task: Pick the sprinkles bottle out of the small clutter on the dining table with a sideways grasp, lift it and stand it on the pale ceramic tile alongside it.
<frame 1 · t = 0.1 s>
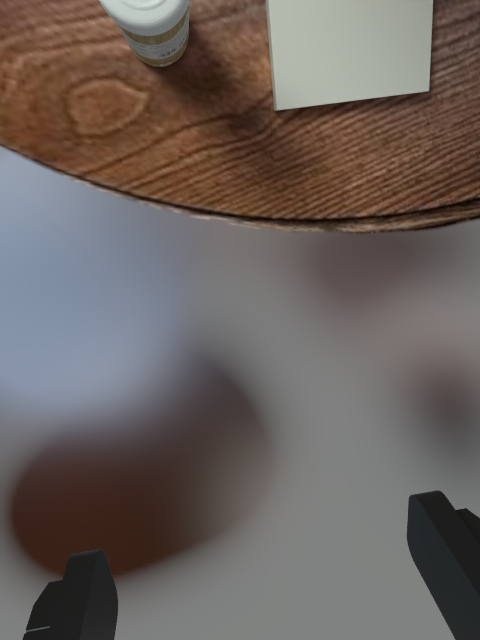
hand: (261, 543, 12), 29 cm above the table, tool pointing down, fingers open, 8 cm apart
sprinkles bottle: (157, 33, 32), on the table
ceramic tile: (347, 10, 32), on the table
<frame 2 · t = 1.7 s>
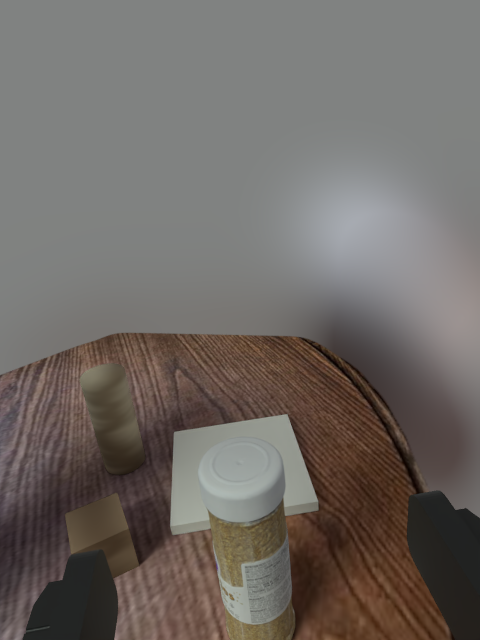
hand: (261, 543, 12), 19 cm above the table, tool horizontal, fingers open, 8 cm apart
sprinkles bottle: (261, 625, 29), on the table
walnut block: (107, 558, 34), on the table
beech dowel: (125, 460, 44), on the table
ceramic tile: (238, 470, 41), on the table
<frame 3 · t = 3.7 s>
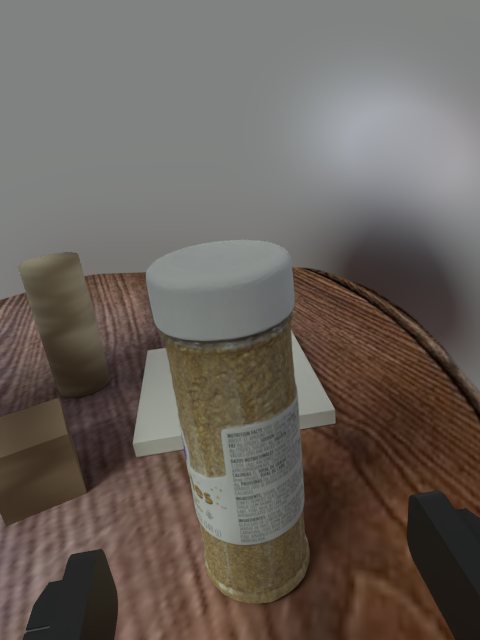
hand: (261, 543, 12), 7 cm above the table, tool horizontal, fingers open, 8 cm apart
sprinkles bottle: (258, 561, 19), on the table
walnut block: (45, 486, 25), on the table
beech dowel: (84, 383, 35), on the table
ceramic tile: (227, 387, 32), on the table
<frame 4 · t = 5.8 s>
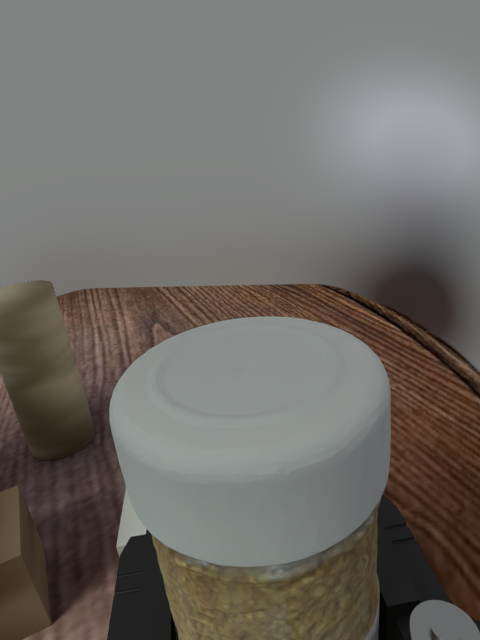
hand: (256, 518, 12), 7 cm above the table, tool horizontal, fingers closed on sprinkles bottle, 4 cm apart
beech dowel: (63, 438, 28), on the table
ceramic tile: (240, 450, 25), on the table
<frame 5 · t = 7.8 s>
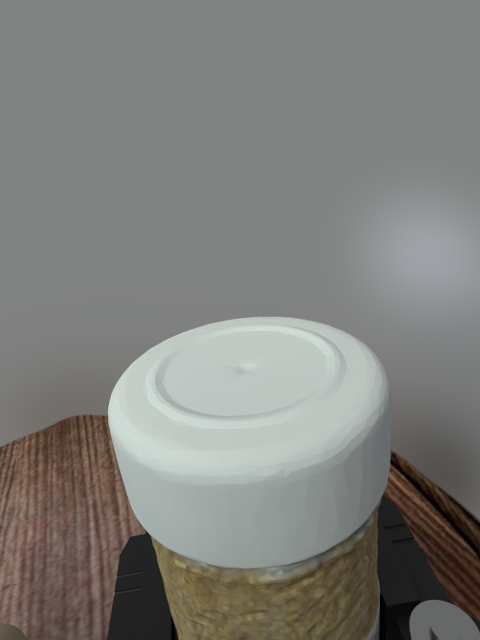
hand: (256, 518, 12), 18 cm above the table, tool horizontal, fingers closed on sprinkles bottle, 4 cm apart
when the fingers open (9 cm above the table, at t = 9.9 s): sprinkles bottle drops 1 cm, resting on ceramic tile.
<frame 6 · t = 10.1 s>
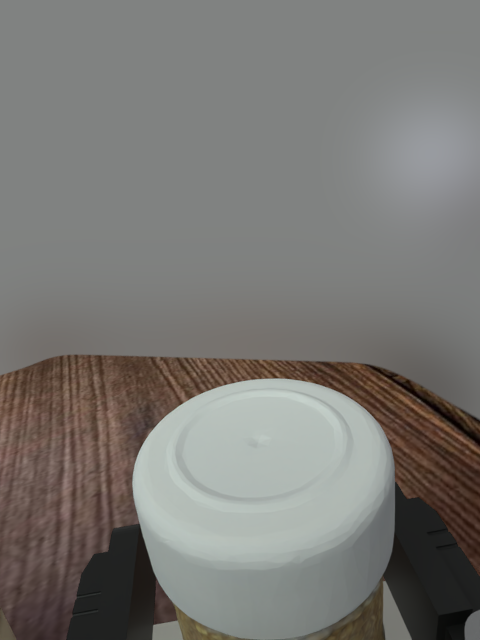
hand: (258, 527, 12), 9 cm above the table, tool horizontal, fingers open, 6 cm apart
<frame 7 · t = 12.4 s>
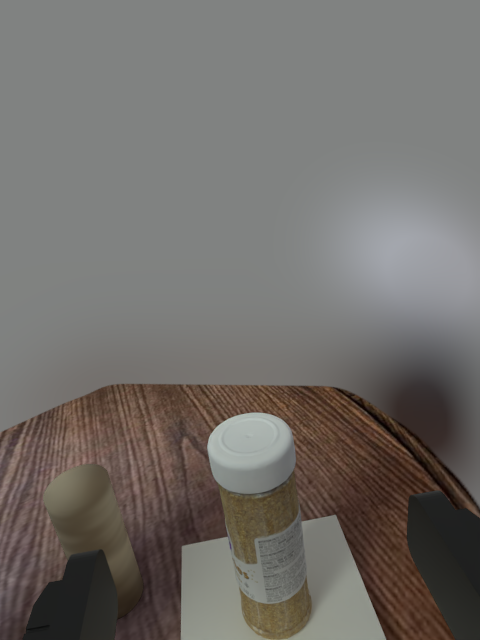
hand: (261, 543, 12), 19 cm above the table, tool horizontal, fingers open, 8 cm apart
sprinkles bottle: (277, 609, 28), point 1 cm above the table, touching ceramic tile
beech dowel: (115, 593, 32), on the table
ceramic tile: (275, 615, 29), on the table
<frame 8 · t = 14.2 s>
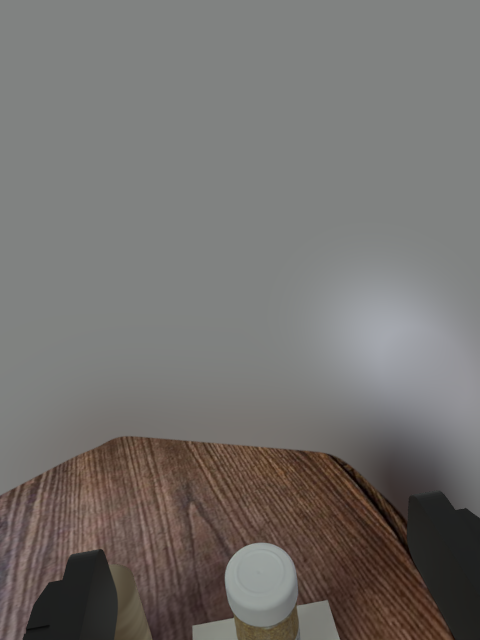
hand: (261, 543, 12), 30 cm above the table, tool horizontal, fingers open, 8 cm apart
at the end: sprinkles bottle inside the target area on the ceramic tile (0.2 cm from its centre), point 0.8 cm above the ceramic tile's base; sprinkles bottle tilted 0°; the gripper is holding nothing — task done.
